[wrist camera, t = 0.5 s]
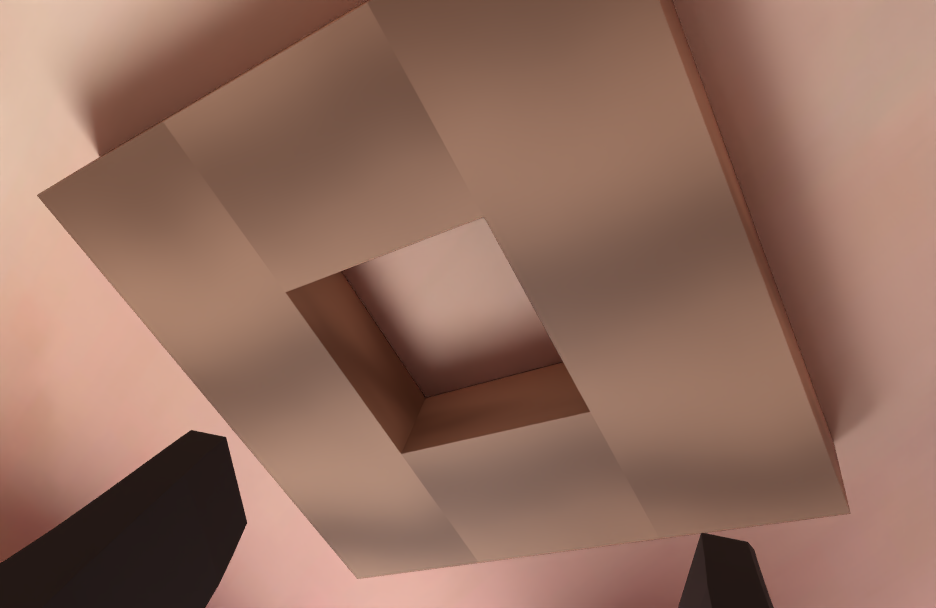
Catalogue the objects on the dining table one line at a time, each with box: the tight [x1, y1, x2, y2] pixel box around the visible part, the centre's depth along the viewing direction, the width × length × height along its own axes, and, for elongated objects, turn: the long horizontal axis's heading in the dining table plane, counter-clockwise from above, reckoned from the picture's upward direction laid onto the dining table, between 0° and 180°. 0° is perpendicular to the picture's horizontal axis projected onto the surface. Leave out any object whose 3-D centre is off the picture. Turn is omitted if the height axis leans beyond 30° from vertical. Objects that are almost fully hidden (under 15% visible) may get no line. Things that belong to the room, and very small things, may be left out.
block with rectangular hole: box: [37, 0, 850, 579], centre depth 20 cm, size 16×16×2 cm
